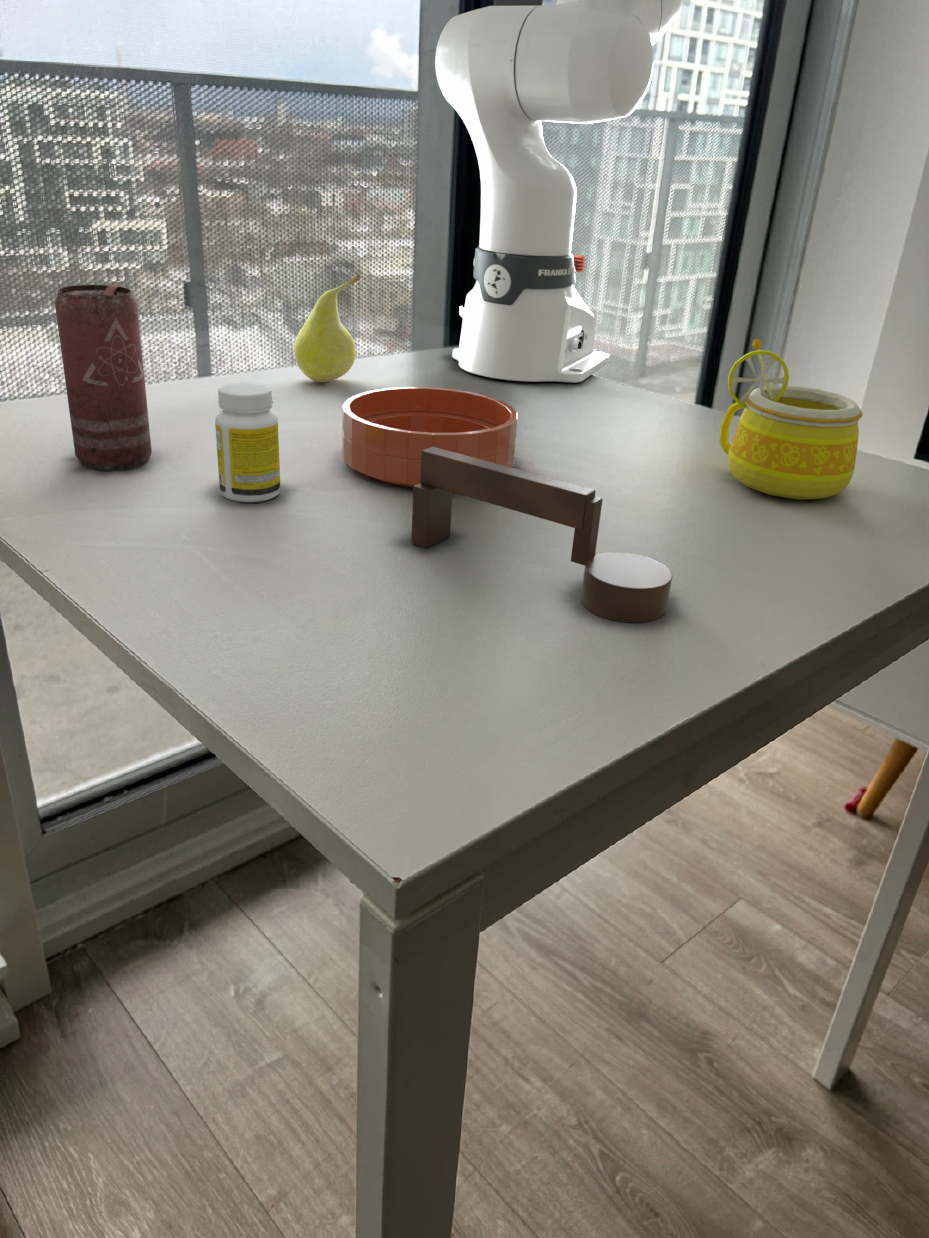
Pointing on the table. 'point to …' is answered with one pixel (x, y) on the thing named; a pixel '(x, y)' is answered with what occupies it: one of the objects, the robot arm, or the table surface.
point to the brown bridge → (609, 578)
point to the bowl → (423, 430)
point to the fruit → (325, 340)
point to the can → (104, 375)
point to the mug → (790, 436)
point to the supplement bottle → (247, 443)
